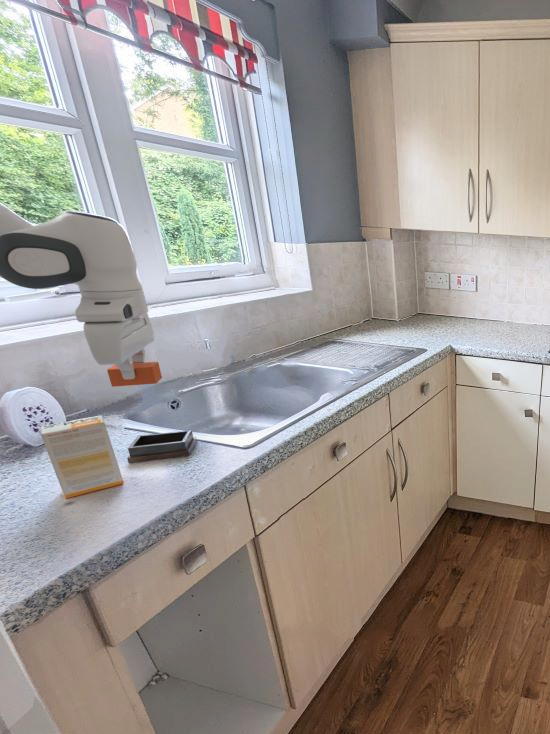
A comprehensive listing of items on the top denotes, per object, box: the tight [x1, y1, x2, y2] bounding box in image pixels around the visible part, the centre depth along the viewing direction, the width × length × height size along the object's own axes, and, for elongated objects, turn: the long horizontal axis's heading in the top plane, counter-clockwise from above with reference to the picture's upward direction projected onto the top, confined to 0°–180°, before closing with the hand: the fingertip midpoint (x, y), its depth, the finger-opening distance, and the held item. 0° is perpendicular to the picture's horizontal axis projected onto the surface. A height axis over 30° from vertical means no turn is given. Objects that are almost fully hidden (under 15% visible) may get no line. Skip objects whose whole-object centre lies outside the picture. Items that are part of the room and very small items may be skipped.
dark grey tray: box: [127, 429, 198, 464], centre depth 99 cm, size 10×8×3 cm
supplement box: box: [40, 414, 124, 499], centre depth 83 cm, size 8×5×13 cm, turn 134°
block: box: [106, 361, 163, 388], centre depth 90 cm, size 7×4×4 cm, turn 114°
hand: (135, 374), depth 90 cm, fingers closed on block, 4 cm apart
